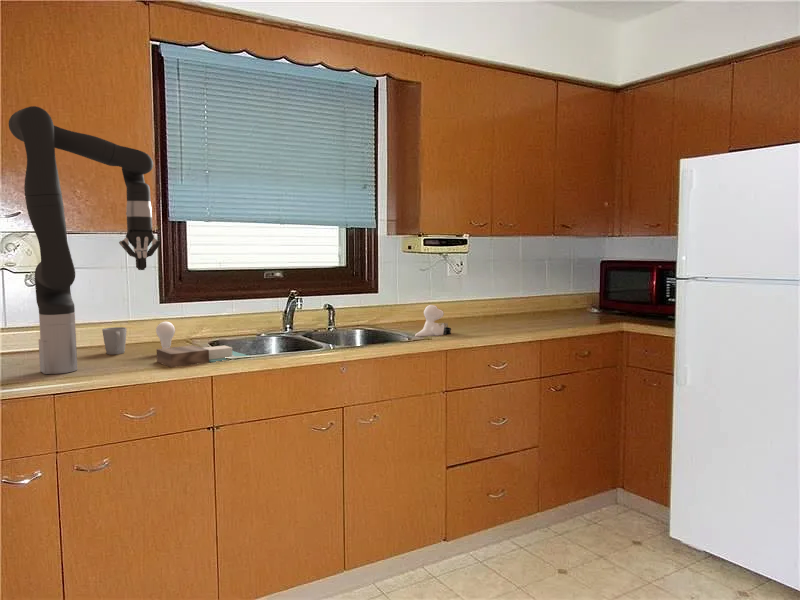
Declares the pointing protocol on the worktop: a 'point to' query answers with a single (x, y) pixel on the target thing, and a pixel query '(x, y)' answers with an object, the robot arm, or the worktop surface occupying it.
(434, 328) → the figurine
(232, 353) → the mat
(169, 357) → the brown wooden block
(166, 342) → the lightbulb
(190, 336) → the worktop surface
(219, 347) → the pale pink rectangular block
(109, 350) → the cup
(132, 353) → the worktop surface
